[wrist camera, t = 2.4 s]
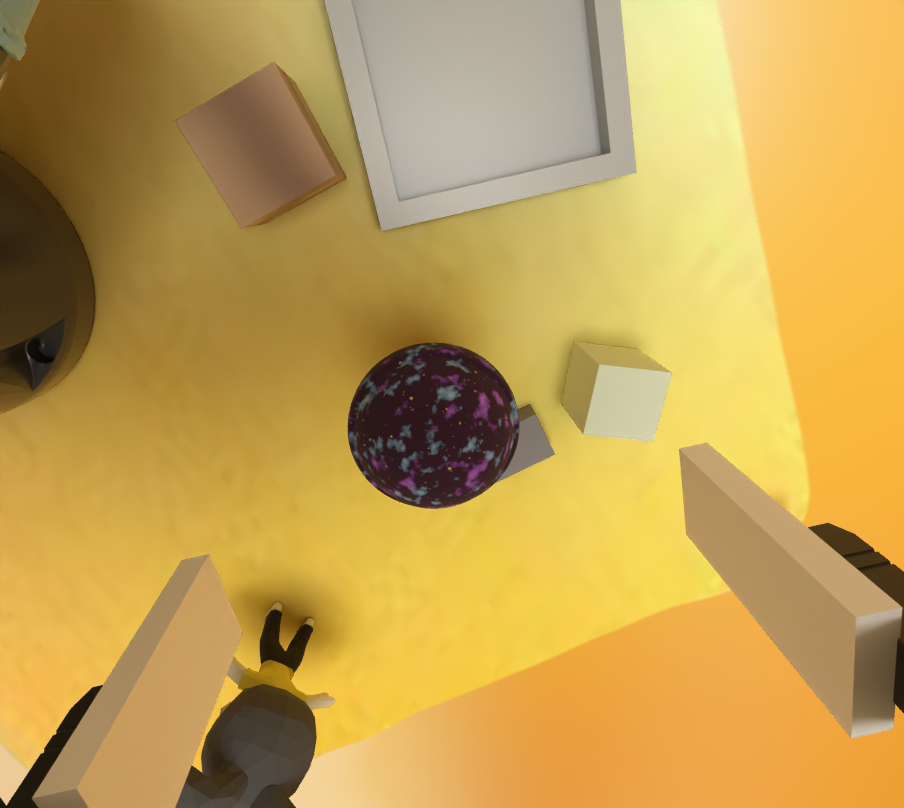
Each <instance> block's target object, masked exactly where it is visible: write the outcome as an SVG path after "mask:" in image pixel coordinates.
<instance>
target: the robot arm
mask: <svg viewBox="0 0 904 808" xmlns="http://www.w3.org/2000/svg"><path fill="white" fill-rule="evenodd" d="M39 2H40V0H0V79H1V78H2V76H3V74H4V73H5V71H6V70H7V68H8V66H9V65H10V63H11V61H12V60H13V58H15V59H17V60H19V61H20V60H21V59H22V57H23V56H24V54H25V52H26V48H27V44H26V42H25V39H24V35H25V33H26V31H27V29H28V26H29V24H30V22H31V20H32V18H33V15H34V13H35V11H36V9H37V7H38V4H39ZM93 318H94V287H93V280H92V275H91V271H90V266H89V263H88V260H87V257H86V254H85V251H84V249H83V246H82V244H81V241H80V239H79V237H78V235H77V233H76V231H75V229H74V228H73V226H72V224H71V222H70V221H69V219H68V218H67V216H66V214H65V213H64V211H63V210H62V209H61V207H60V206H59V205H58V203H57V202H56V201H55V199H54V198H53V197H52V196H51V195H50V193H49V192H48V191H47V190H46V189H45V188H44V187H43V186H42V185H41V184H40V182H38V181H37V180H36V179H35V178H34V177H33V176H32V175H31V174H30V173H29V172H28V171H27V170H25V169H24V168H23V167H22V166H21V165H19V164H18V163H17V162H15V161H14V160H13V159H11V158H10V157H9V156H7V155H6V154H4V153H3V152H1V151H0V414H1V413H4V412H6V411H9V410H12V409H14V408H16V407H18V406H20V405H22V404H24V403H26V402H28V401H29V400H31V399H33V398H35V397H37V396H39V395H40V394H42V393H44V392H46V391H47V390H49V389H50V388H52V387H53V386H55V385H56V384H57V383H58V382H60V381H61V380H62V379H63V378H64V377H65V376H66V375H67V374H68V373H69V372H70V371H71V369H72V368H73V367H74V366H75V364H76V363H77V361H78V360H79V358H80V357H81V355H82V353H83V351H84V349H85V347H86V345H87V342H88V339H89V336H90V333H91V329H92V324H93ZM679 453H680V465H681V477H682V489H683V501H684V513H685V525H686V534H687V536H688V537H689V538H690V539H691V541H692V542H693V543H694V544H695V545H696V547H697V548H698V549H699V550H700V552H701V553H702V554H703V555H704V557H705V558H706V559H707V560H708V562H709V563H710V564H711V565H712V567H713V568H714V569H715V570H716V571H717V573H718V574H719V575H720V576H721V578H722V579H723V580H724V581H725V583H726V584H727V585H728V586H729V588H730V589H731V590H732V591H733V592H734V594H735V595H736V596H737V597H738V599H739V600H740V601H741V602H742V604H743V605H744V606H745V607H746V609H747V610H748V611H749V612H750V614H751V615H752V616H753V617H754V619H755V620H756V621H757V622H758V623H759V625H760V626H761V627H762V628H763V630H764V631H765V632H766V633H767V635H768V636H769V637H770V638H771V640H772V641H773V642H774V643H775V645H776V646H777V647H778V648H779V650H780V651H781V652H782V653H783V654H784V656H785V657H786V658H787V659H788V660H789V662H790V663H791V664H792V665H793V667H794V668H795V669H796V671H797V672H798V673H799V674H800V675H801V677H802V678H803V679H804V680H805V682H806V683H807V684H808V685H809V687H810V688H811V689H812V690H813V691H814V693H815V694H816V695H817V697H818V698H819V699H820V700H821V701H822V703H823V704H824V705H825V706H826V708H827V709H828V710H829V711H830V713H831V714H832V715H833V716H834V718H835V719H836V720H837V721H838V723H839V724H840V725H841V726H842V728H843V729H844V730H845V731H846V732H847V734H848V735H849V736H850V737H851V738H855V737H859V736H864V735H869V734H874V733H878V732H883V731H887V730H892V729H893V727H894V713H895V704H896V705H897V706H898V707H899V709H900V710H901V711H902V712H903V713H904V572H903V571H902V570H901V569H899V568H898V567H897V566H896V565H894V564H892V565H891V563H890V561H889V560H888V559H886V558H885V557H884V556H882V555H881V554H880V553H879V552H875V551H874V549H873V548H872V547H871V546H869V545H868V544H867V543H866V542H864V541H863V540H862V539H860V538H859V537H858V536H856V535H855V534H853V533H851V532H849V531H846V530H844V529H841V528H839V527H837V526H834V525H832V524H829V523H825V524H821V525H816V526H812V527H806V526H805V525H804V524H803V523H802V522H800V521H799V520H798V519H797V518H796V517H794V516H793V515H792V514H791V513H790V512H789V511H787V510H786V509H785V508H784V507H783V506H781V505H780V504H779V503H778V502H777V501H775V500H774V499H773V498H772V497H771V496H770V495H768V494H767V493H766V492H765V491H764V490H762V489H761V488H760V487H759V486H758V485H756V484H755V483H754V482H753V481H752V480H751V479H749V478H748V477H747V476H746V475H745V474H743V473H742V472H741V471H740V470H739V469H737V468H736V467H735V466H734V465H733V464H732V463H730V462H729V461H728V460H727V459H726V458H724V457H723V456H722V455H721V454H720V453H718V452H717V451H716V450H715V449H714V448H713V447H711V446H710V445H709V444H708V443H704V444H699V445H695V446H690V447H686V448H681V449H679ZM242 634H243V632H242V629H241V627H240V625H239V622H238V620H237V618H236V615H235V613H234V611H233V609H232V606H231V604H230V602H229V599H228V597H227V595H226V592H225V590H224V588H223V585H222V583H221V581H220V579H219V576H218V574H217V572H216V569H215V567H214V565H213V562H212V560H211V558H210V556H209V554H208V555H203V556H199V557H194V558H190V559H186V560H182V561H181V562H180V564H179V566H178V567H177V569H176V570H175V572H174V574H173V575H172V577H171V578H170V580H169V582H168V583H167V585H166V586H165V588H164V589H163V591H162V593H161V594H160V596H159V597H158V599H157V601H156V602H155V604H154V605H153V607H152V609H151V610H150V612H149V613H148V615H147V616H146V618H145V620H144V621H143V623H142V624H141V626H140V628H139V629H138V631H137V632H136V634H135V636H134V637H133V639H132V640H131V642H130V643H129V645H128V647H127V648H126V650H125V651H124V653H123V655H122V656H121V658H120V659H119V661H118V662H117V664H116V666H115V667H114V669H113V670H112V672H111V674H110V675H109V677H108V678H107V680H106V682H105V683H104V685H101V686H97V687H93V688H91V689H90V690H89V691H88V692H87V693H86V694H85V695H84V696H83V697H82V698H81V699H80V700H79V701H78V702H77V703H76V704H75V705H74V706H73V707H72V708H71V709H70V711H69V712H68V714H67V715H66V717H65V718H64V720H63V721H62V723H61V724H60V726H59V727H58V729H57V730H56V732H57V733H56V735H53V736H52V738H51V739H50V741H49V742H48V744H47V745H46V747H45V748H44V753H42V754H40V756H39V757H38V759H37V760H36V762H35V763H34V765H33V767H32V768H31V770H30V771H29V773H28V774H27V776H26V777H25V779H24V780H23V782H22V783H21V785H20V786H19V788H18V789H17V791H16V792H15V794H14V795H13V797H12V798H11V800H10V801H9V803H8V804H7V806H6V805H5V803H4V802H3V801H2V799H1V798H0V808H175V807H176V804H177V802H178V799H179V797H180V794H181V791H182V789H183V786H184V784H185V781H186V778H187V776H188V773H189V771H190V768H191V765H192V763H193V760H194V758H195V755H196V753H197V750H198V747H199V745H200V742H201V740H202V737H203V734H204V732H205V729H206V727H207V724H208V721H209V719H210V716H211V714H212V711H213V709H214V706H215V703H216V701H217V698H218V696H219V693H220V690H221V688H222V685H223V683H224V680H225V678H226V675H227V672H228V670H229V667H230V665H231V662H232V659H233V657H234V654H235V652H236V649H237V646H238V644H239V641H240V639H241V636H242Z"/></svg>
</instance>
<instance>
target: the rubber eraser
mask: <svg viewBox="0 0 904 808" xmlns="http://www.w3.org/2000/svg"><path fill="white" fill-rule="evenodd" d="M518 414H519V439H518V443H517V448H516V451H515V453H514V456H513V458H512V460H511V462H510V464H509V466H508V467H507V469H506V471H505V472H504V473H503V475H502V476H501V477H500V478H499V479H498V480H497V481H496V482H498V481H500V480H503V479H505V478H507V477H509V476H511V475H513V474H515V473H517V472H519V471H521V470H523V469H525V468H528V467H530V466H532V465H534V464H536V463H538V462H540V461H542V460H544V459H546V458H548V457H551V456H553V455H555V453H554V451H553V449H552V447H551V445H550V443H549V441H548V439H547V437H546V435H545V433H544V430H543V428H542V426H541V424H540V422H539V420H538V418H537V416H536V414H535V412H534V411H533V409H532V407H531V405H530V404H529V405H527V406H525V407H523V408H521V409H519V410H518ZM496 482H495V483H496Z"/></svg>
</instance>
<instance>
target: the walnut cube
mask: <svg viewBox="0 0 904 808" xmlns="http://www.w3.org/2000/svg"><path fill="white" fill-rule="evenodd" d="M175 123H176V124H177V126H178V128H179V129H180V131H181V132H182V134H183V136H184V137H185V139H186V140H187V142H188V144H189V145H190V147H191V148H192V150H193V152H194V153H195V155H196V156H197V158H198V160H199V161H200V163H201V164H202V166H203V168H204V169H205V171H206V172H207V174H208V176H209V177H210V179H211V180H212V182H213V184H214V185H215V187H216V188H217V190H218V192H219V193H220V195H221V196H222V198H223V200H224V201H225V203H226V204H227V206H228V208H229V209H230V211H231V212H232V214H233V216H234V217H235V219H236V220H237V222H238V224H239V225H240V227H241V229H242V228H246V227H251V226H255V225H260V224H264V223H267V222H269V221H271V220H273V219H274V218H276V217H278V216H280V215H282V214H283V213H285V212H287V211H289V210H290V209H292V208H294V207H296V206H298V205H299V204H301V203H303V202H305V201H306V200H308V199H310V198H312V197H314V196H315V195H317V194H319V193H321V192H322V191H324V190H326V189H328V188H330V187H331V186H333V185H335V184H337V183H338V182H340V181H342V180H344V179H346V178H347V177H346V175H345V174H344V172H343V170H342V168H341V166H340V164H339V162H338V161H337V159H336V157H335V155H334V153H333V151H332V150H331V148H330V146H329V144H328V142H327V140H326V138H325V137H324V135H323V133H322V131H321V129H320V127H319V125H318V124H317V122H316V120H315V118H314V116H313V114H312V113H311V111H310V109H309V107H308V105H307V103H306V101H305V100H304V98H303V96H302V94H301V92H300V90H299V88H298V87H297V85H296V83H295V82H294V81H293V80H292V79H291V78H290V77H289V76H288V75H287V74H286V73H285V72H284V71H283V70H282V69H281V68H279V67H278V66H277V65H276V64H275V63H274V62H273V63H271V64H270V65H268V66H266V67H265V68H263V69H261V70H260V71H258V72H256V73H255V74H253V75H251V76H250V77H248V78H246V79H244V80H243V81H241V82H239V83H238V84H236V85H234V86H233V87H231V88H229V89H228V90H226V91H224V92H223V93H221V94H219V95H218V96H216V97H214V98H212V99H211V100H209V101H207V102H206V103H204V104H202V105H201V106H199V107H197V108H196V109H194V110H192V111H191V112H189V113H187V114H186V115H184V116H182V117H180V118H179V119H177V120H175Z"/></svg>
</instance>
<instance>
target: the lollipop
mask: <svg viewBox="0 0 904 808" xmlns="http://www.w3.org/2000/svg"><path fill="white" fill-rule="evenodd" d="M348 439H349V445H350V449H351V452H352V455H353V457H354V460H355V462H356V464H357V466H358V467H359V469H360V471H361V472H362V474H363V475H364V476H365V477H366V479H367V480H368V481H369V482H370V483H371V484H372V485H373V486H374V487H376V488H377V489H378V490H379V491H381V492H382V493H384V494H385V495H387V496H389V497H390V498H392V499H394V500H397V501H399V502H402V503H405V504H408V505H412V506H416V507H421V508H430V509H438V508H447V507H452V506H456V505H459V504H462V503H464V502H467V501H469V500H471V499H473V498H475V497H476V496H478V495H480V494H482V493H483V492H484V491H486V490H487V489H489V488H490V487H491V486H492V485H493V484H494V483H495V482H496V481H497V480H498V479H499V478H500V477H501V476H502V475H503V473H504V472H505V471H506V469H507V467H508V466H509V464H510V462H511V460H512V458H513V456H514V453H515V451H516V448H517V443H518V439H519V414H518V409H517V405H516V401H515V398H514V396H513V393H512V391H511V389H510V387H509V385H508V384H507V382H506V381H505V379H504V378H503V376H502V375H501V374H500V373H499V371H498V370H497V369H496V368H495V367H494V366H493V365H492V364H491V363H489V362H488V361H487V360H486V359H484V358H483V357H481V356H479V355H478V354H476V353H474V352H472V351H470V350H468V349H465V348H463V347H460V346H456V345H452V344H445V343H424V344H417V345H413V346H409V347H406V348H403V349H400V350H398V351H396V352H394V353H392V354H390V355H389V356H387V357H385V358H384V359H383V360H381V361H380V362H379V363H377V364H376V365H375V366H374V367H373V368H372V369H371V370H370V371H369V372H368V373H367V375H366V376H365V377H364V379H363V380H362V381H361V383H360V385H359V387H358V388H357V390H356V393H355V395H354V397H353V400H352V403H351V407H350V411H349V417H348Z"/></svg>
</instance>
